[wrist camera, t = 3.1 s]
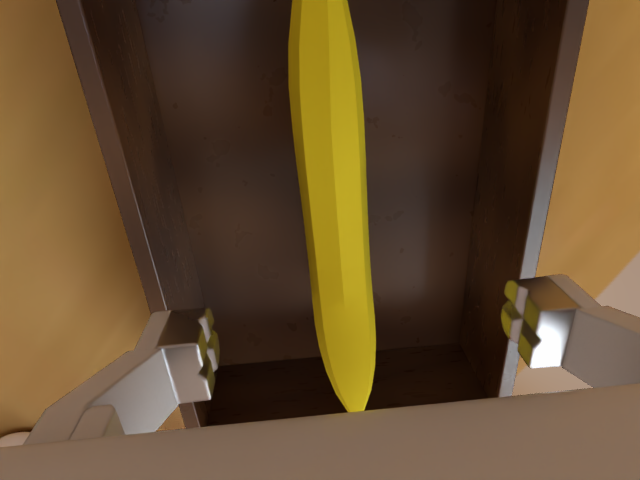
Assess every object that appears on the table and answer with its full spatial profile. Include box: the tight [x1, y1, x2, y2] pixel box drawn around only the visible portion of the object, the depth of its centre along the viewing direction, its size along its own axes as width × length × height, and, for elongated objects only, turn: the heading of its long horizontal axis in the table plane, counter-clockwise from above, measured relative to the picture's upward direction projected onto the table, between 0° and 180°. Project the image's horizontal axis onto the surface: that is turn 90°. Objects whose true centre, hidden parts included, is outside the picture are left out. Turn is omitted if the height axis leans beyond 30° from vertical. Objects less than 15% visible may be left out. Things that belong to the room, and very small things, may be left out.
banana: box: [288, 0, 376, 412], centre depth 17 cm, size 3×19×6 cm, turn 5°
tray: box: [56, 0, 589, 429], centre depth 18 cm, size 22×15×6 cm
